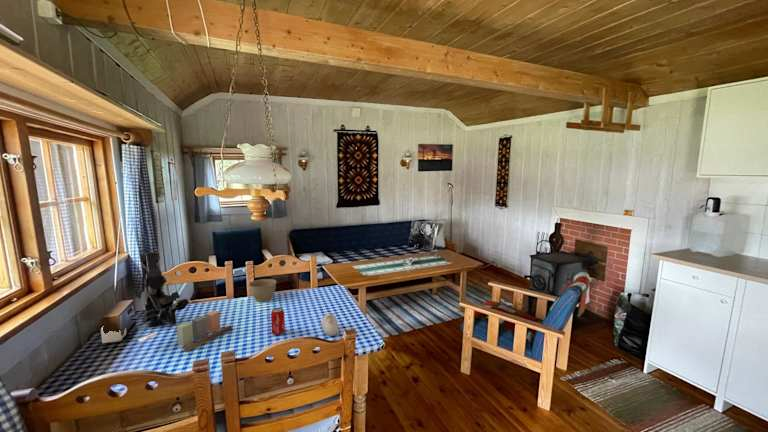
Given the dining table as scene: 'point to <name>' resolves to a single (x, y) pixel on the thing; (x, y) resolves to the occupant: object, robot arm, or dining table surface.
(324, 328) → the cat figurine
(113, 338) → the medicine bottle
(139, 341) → the tile
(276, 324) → the soda can
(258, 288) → the planter bowl
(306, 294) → the dining table surface
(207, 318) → the key terracotta
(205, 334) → the key grey
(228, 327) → the key console
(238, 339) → the dining table surface
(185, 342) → the key sage
